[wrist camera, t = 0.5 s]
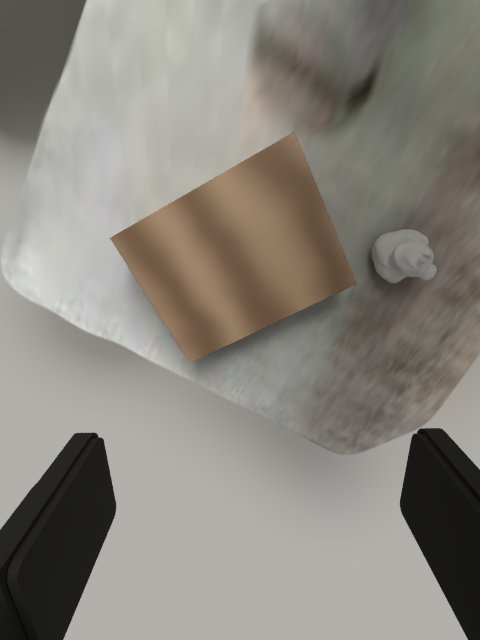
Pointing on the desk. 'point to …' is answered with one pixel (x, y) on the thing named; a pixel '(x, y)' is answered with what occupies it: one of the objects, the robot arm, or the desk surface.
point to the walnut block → (238, 251)
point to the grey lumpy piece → (403, 256)
